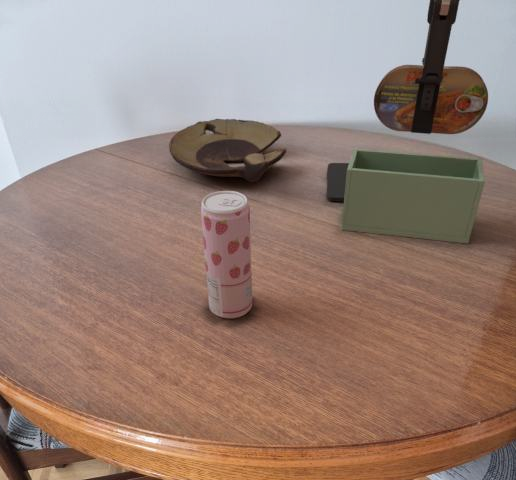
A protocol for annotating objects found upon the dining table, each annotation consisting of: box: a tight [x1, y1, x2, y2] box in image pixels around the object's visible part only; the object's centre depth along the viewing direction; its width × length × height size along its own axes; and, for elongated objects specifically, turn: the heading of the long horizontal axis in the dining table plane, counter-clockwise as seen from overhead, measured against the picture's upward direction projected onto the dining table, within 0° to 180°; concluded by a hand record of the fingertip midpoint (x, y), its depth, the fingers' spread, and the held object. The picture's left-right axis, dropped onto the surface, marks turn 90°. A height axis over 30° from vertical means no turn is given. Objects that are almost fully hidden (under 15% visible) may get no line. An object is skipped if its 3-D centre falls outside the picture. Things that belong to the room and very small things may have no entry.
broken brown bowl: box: [168, 118, 287, 183], centre depth 102 cm, size 22×30×8 cm
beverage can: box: [200, 190, 253, 319], centre depth 67 cm, size 6×6×15 cm
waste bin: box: [341, 148, 486, 245], centre depth 85 cm, size 19×8×10 cm, turn 76°
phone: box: [326, 162, 349, 203], centre depth 99 cm, size 7×1×15 cm
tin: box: [373, 64, 489, 135], centre depth 75 cm, size 15×3×8 cm, turn 75°
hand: (421, 127), depth 78 cm, fingers closed on tin, 3 cm apart
